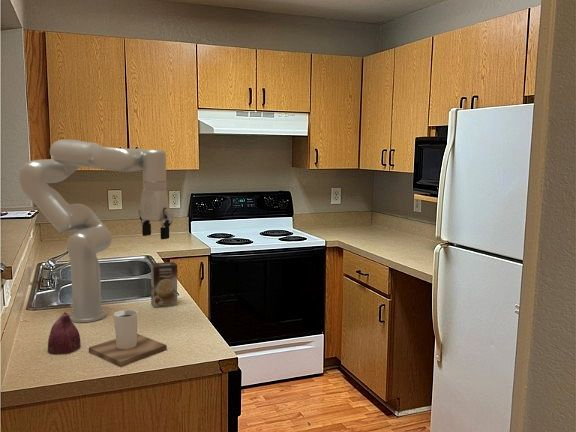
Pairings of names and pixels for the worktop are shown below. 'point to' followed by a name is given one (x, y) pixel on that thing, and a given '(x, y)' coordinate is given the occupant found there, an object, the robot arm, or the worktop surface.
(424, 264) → the worktop surface
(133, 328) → the white coffee cup
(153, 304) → the coffee box
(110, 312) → the worktop surface
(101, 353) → the walnut board
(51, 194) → the robot arm
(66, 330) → the vegetable
